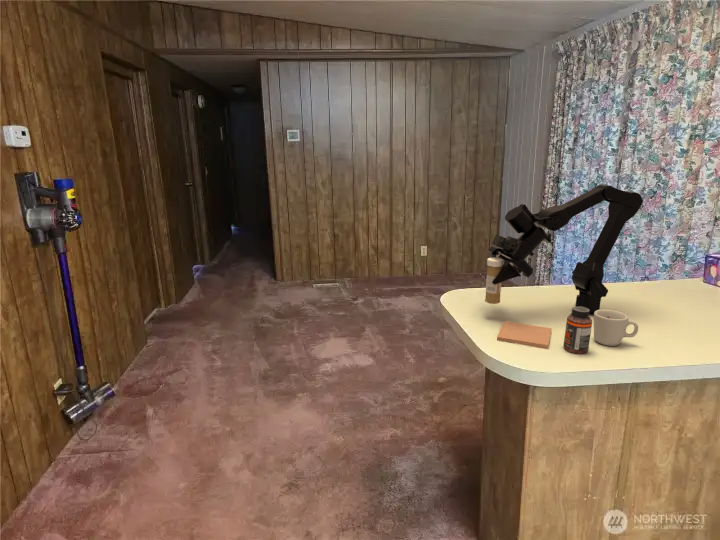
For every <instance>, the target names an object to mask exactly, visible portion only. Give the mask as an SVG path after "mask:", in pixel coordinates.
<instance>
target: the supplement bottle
mask: <svg viewBox="0 0 720 540" xmlns="http://www.w3.org/2000/svg"><path fill="white" fill-rule="evenodd" d="M589 311H590V310H589V309H588V308H585V307H580V306H576V307H575V306H573V307H572V308H571V313H569V314H568V316H567V317H566V323H565V330H564V331H565V333H564V340H563V348H564V350H566V351H567V352H570V353H573V354H577V355H579V354H580V355H581V354H586V353H587V352H588V351H589V349H590V341H591V333H592V326H593V319H592V318H591V316H590V315H589Z"/></svg>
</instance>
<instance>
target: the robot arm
mask: <svg viewBox="0 0 720 540" xmlns="http://www.w3.org/2000/svg"><path fill="white" fill-rule="evenodd" d="M602 202H607V203H608V207H607V209H608V216H607V219H606V221H605V223H604V225H603V228H602V229H601V231H600V234H599V236H598V238H597V240H596V241H595V243H594V244H593V245H594V246H593V247H592V249H591V251H590V253H589V255H588V257H587V258H586V260H585V261H583V262H580V261H577V263H576V265H575V266H574V267H575V268H574V269H573V271H572V272H571V274H572V276H571V281H572V283H573V285H574V288H575V290H576V291H578V294H577V295H576V299H575V306H574V307H576V306H580V307H585V308H588V309H589V310H590V311H589V315H588V316H591V315H592V316H594V312H595V311H597V310H601V301H602V298H605V297H607V295H608V293H609V290H608V288H607V287H606V286H605V285H604V284H603V279H604V277H605V272H604V271H605V269H604V265H605V264H606V262H607V259H608V258H609V255H610V254H611V253H612V250H613V247H614V246H615V244H616V242H617V240H618V239H619V236H620V234H621V232H622V230H623V228H624V227H625V224H626V223H627V222H628V221H630V220H631V219H632V218H633V217H635V215H637V213H638V212H639V210H640V209H641V208H642V205H643V202H644V200H643V197H642V195H641V194H640V193H639V192H635V191H628V190H622V189H618V188H616V187H613V186H612V185H609V184H598V185H596V186H595V187H593V188H592V189H590V190H588V191H586V192H584V193H582V194H580V195H579V196H577V197H574V198H573V199H570V200H569V201H567V202H564V203H562V204H558V205H554V206H549V207H546V208H543V209H541V210H540V211H539V212H536V213H532V212H531V211H530V210H529V208H528V206H527V205H526V204H524V203H520V205H518V206H516V207H513V208H512V209H510V210H509V211H507V213H506V214H505V216H504V220H505V221H506V222H507V223H508V224H509V226H510V227H511V228H512V230H514V231H515V232H516V233H517V234H521V235H520V236H519V237H518V238H516V237H513V236H511V235H508V236H507V237H504V236H501V235H499V234H495V235H494V237H493V239H492V241H491V245H492V246H491V247H490V248H489V249H488V250H487V252H488V253H489V254H490V255H491V258H501V259H503V267H502V270H501V271H500V272H499V274H498V275H497V276H496V277H495V279H494V280H493V281H492V283H493V284H494V285H495V284H498V283H501V284H502V283H504V282H506V281H508V280H511V279H515V278H518V277H519V278H520V277H522V275H523V276H524V277H525V278H527V279H529V278H531V276H532V275H534V268H533V267H532V266H531V265H530V264H529V263H528V262H527V260H526V259H527V258H528V257H533V256H534V255H535V253H534V251H535V250H536V249H537V248H538V247H539V246H540V245H541V244H542V243H543V242H546V243H548V244H552V234H551V233H550V232H546V231H545V230H549V231H552V232H557V231H559V230H560V229H563V228H564V227H565V226H566V225H568V223H570V221H571V220H572V218H574V217H575V216H577V215H579V214H581V213H582V212H585V211H587V210H589V209H591V208H593V207H595V206H597V205H598V204H600V203H602ZM537 225H538V226H537ZM521 273H522V275H521ZM484 279H485V280H486V279H487V274H486V275H485V277H484Z"/></svg>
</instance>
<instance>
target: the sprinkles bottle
mask: <svg viewBox="0 0 720 540" xmlns="http://www.w3.org/2000/svg"><path fill="white" fill-rule="evenodd" d="M486 259H487V260H486V265H487V266H486V268H487V269H486V275H487V279H485V280H486V282H485V283H486V284H485V299H484V301H485V303H487V304H491V305H496V304H500V303H501V292H502V282H501V283H498V284H495V285H494V284H493V283H492V281H493V280H494V279H495V277H496V276H497V275H498V274H499V272H500V271H501V270H502V267H503V259H501V258H492V257H488V258H486Z"/></svg>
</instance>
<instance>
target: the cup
mask: <svg viewBox="0 0 720 540" xmlns="http://www.w3.org/2000/svg"><path fill="white" fill-rule="evenodd" d="M630 325H633V327H634V329H633V331H632V332H631V333H628V332H627V328H628V326H630ZM638 332H639V324H638V323H637V321H635V320H633V319H629V316H628V315H626V314H625V313H624V312H621V311H618V310H612V309H599V310H597V311H595V312H594V315H593V339H594V341H596V342H597V343H599V344H601V345H604V346H610V347H612V346H613V347H614V346H615V347H616V346H618V345H619V344H621V342H622V340H623V338H633V337H635V336H637V334H638Z"/></svg>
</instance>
